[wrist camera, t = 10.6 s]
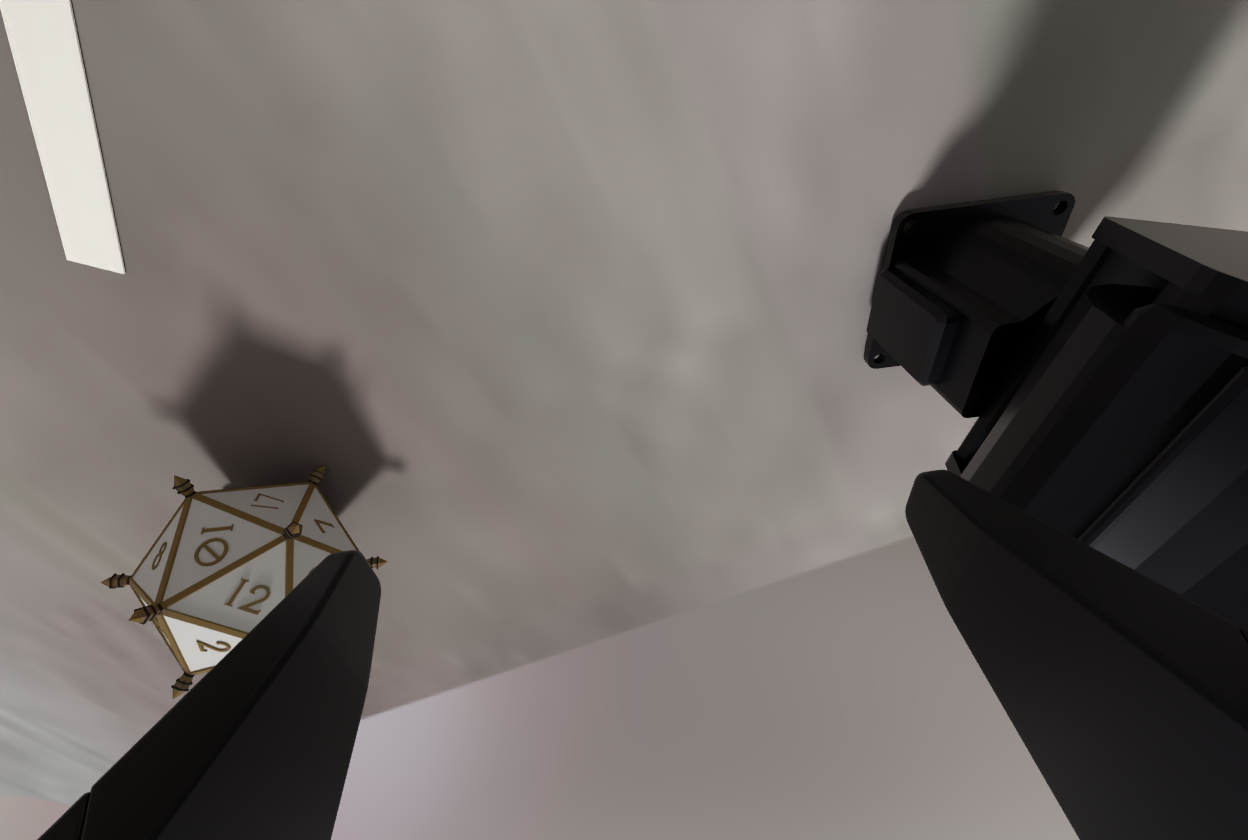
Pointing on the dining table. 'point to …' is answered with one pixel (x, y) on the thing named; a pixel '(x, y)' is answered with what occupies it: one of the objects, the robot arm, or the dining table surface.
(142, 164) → the dining table surface
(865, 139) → the dining table surface
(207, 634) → the game die
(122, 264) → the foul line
